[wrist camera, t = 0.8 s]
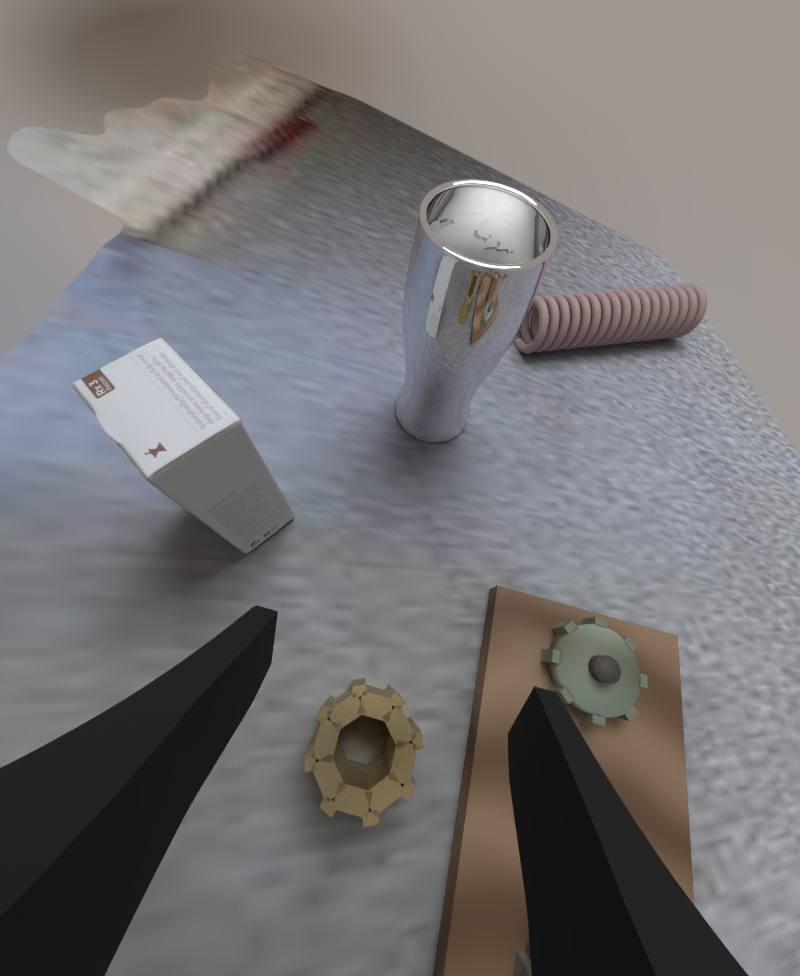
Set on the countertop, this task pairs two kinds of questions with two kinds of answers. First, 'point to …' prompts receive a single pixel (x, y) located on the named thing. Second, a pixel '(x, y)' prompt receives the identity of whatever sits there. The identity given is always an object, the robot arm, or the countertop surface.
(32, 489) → the countertop surface
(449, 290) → the beer glass
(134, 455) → the skincare box
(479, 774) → the gear board
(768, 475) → the countertop surface
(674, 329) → the coil
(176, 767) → the robot arm
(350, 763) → the brass gear
